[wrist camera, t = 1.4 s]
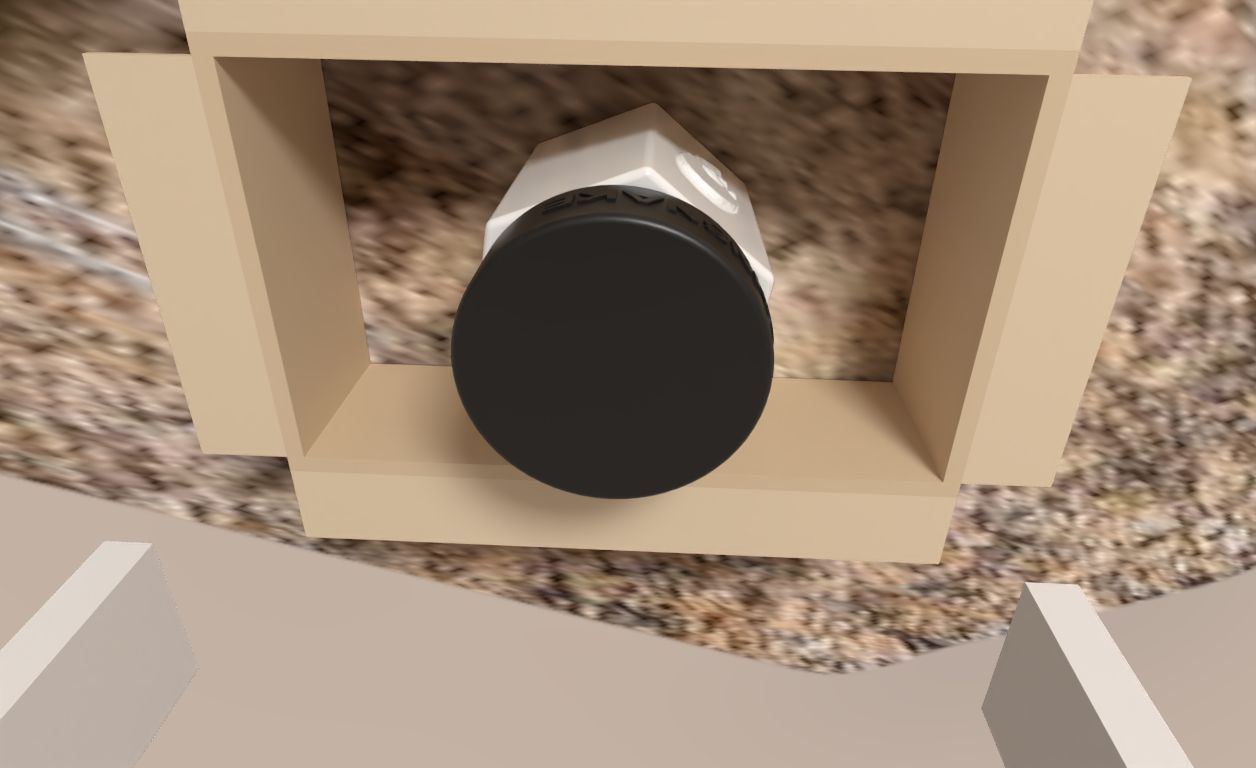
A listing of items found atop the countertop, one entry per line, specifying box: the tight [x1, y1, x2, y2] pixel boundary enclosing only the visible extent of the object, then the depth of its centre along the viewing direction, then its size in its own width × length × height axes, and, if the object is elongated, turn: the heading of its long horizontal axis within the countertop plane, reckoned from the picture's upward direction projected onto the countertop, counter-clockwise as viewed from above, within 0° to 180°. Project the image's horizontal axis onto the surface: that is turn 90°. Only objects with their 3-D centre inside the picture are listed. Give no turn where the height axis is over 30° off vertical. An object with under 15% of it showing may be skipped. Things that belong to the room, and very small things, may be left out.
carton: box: [82, 0, 1192, 564], centre depth 27 cm, size 29×20×7 cm
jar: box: [451, 103, 775, 499], centre depth 25 cm, size 9×8×12 cm
